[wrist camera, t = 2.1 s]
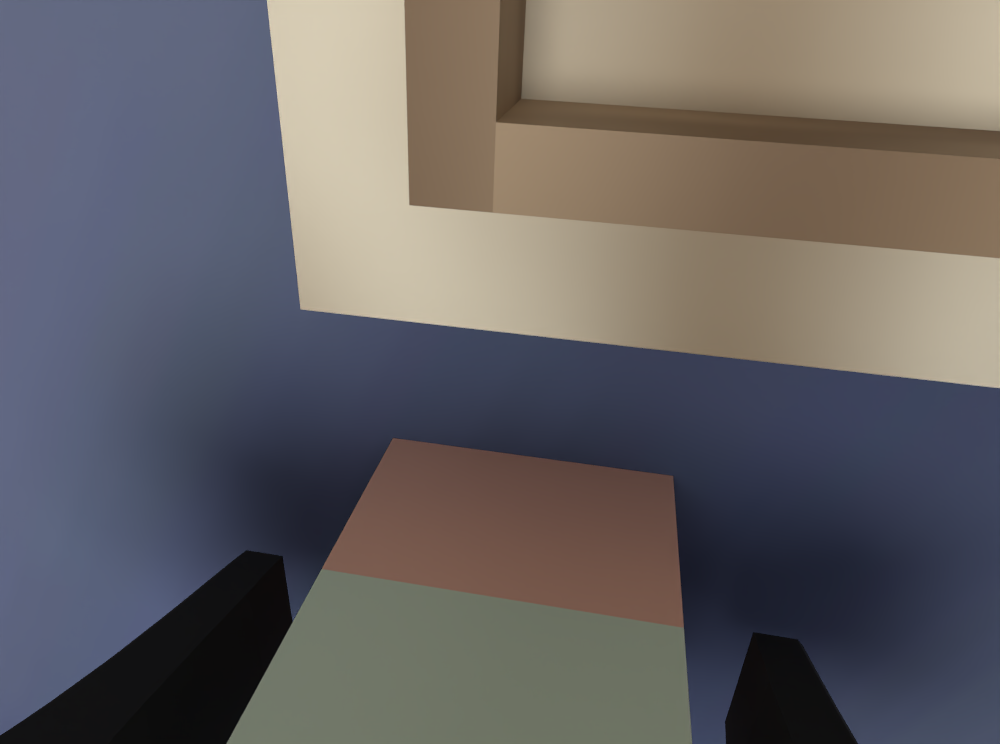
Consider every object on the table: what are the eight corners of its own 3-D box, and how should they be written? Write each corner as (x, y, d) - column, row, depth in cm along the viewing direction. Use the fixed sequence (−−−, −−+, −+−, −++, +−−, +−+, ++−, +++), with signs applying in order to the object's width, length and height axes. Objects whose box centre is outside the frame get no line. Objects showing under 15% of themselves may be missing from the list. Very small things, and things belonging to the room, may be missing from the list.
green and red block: (673, 474, 11) (704, 920, 6) (634, 666, 13) (631, 1115, 8) (393, 437, 11) (190, 810, 6) (401, 627, 14) (257, 1019, 8)
